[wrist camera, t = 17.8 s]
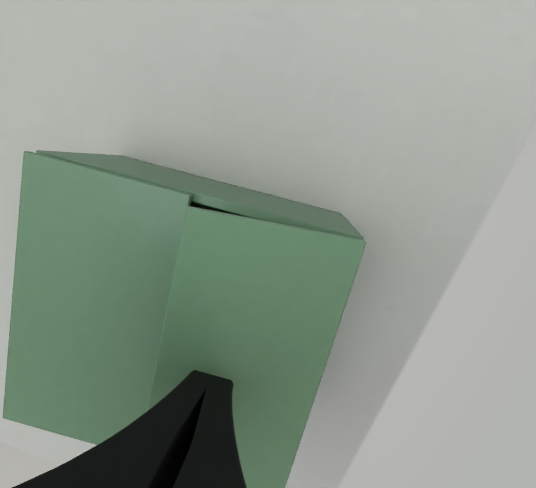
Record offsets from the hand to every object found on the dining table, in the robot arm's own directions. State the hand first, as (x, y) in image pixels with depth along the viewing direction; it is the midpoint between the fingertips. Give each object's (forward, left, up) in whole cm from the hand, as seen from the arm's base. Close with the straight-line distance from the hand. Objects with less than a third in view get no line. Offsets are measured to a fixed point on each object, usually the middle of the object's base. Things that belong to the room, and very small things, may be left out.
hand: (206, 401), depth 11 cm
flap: (-1, -1, -2) cm, 2 cm away
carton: (+2, +1, -10) cm, 10 cm away
